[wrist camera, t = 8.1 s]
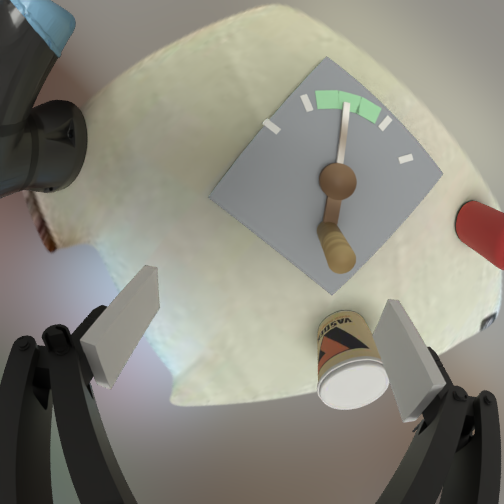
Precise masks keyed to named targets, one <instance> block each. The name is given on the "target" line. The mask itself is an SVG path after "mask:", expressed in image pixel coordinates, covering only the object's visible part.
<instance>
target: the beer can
mask: <svg viewBox="0 0 504 504" xmlns="http://www.w3.org/2000/svg"><path fill="white" fill-rule="evenodd" d="M456 231H457V234H458V237H459V239H460V240H461V241H462V242H463V243H465V244H466V245H468V246H469V247H470V248H472V249H473V250H475V251H476V252H477V253H479V254H480V255H482V256H483V257H484V258H486V259H487V260H488V261H490V262H491V263H492V264H494V265H495V266H496V267H498V268H499V269H501V270H504V213H502V212H500V211H498V210H496V209H494V208H491V207H489V206H487V205H484V204H482V203H480V202H477V201H470V202H467V203H466V204H465V205H464V206H463V207H462V208H461V210H460V211H459V213H458V216H457V221H456Z"/></svg>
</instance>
